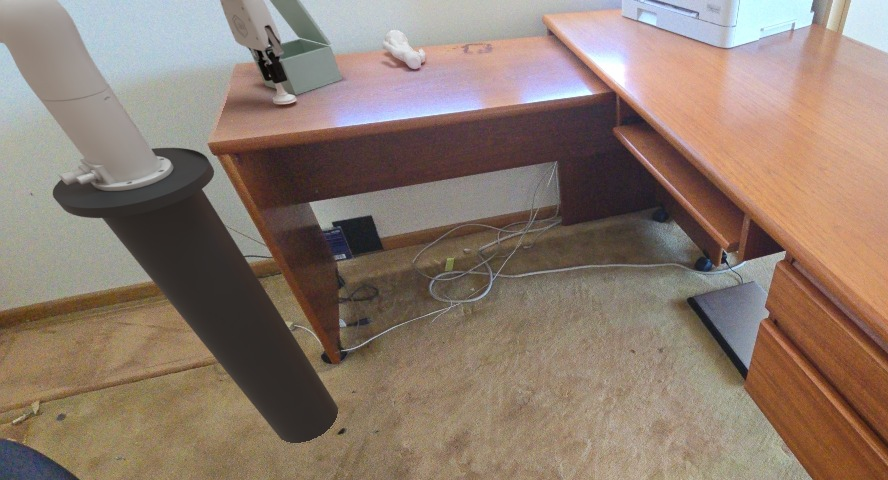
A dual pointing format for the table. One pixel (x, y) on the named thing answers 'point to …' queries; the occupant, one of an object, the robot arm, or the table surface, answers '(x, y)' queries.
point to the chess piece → (282, 94)
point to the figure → (403, 49)
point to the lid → (300, 20)
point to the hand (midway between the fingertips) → (276, 80)
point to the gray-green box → (306, 66)
